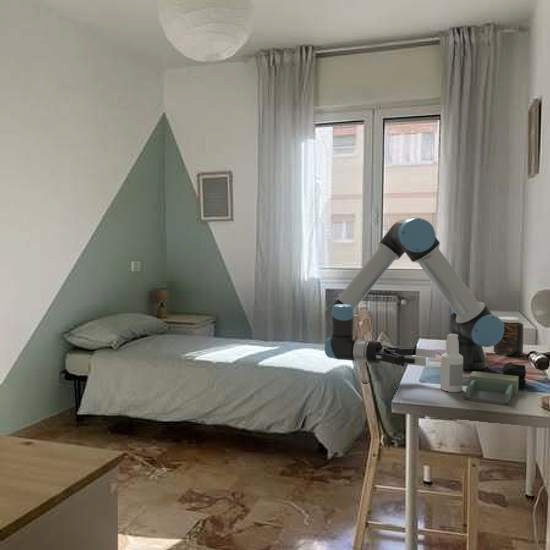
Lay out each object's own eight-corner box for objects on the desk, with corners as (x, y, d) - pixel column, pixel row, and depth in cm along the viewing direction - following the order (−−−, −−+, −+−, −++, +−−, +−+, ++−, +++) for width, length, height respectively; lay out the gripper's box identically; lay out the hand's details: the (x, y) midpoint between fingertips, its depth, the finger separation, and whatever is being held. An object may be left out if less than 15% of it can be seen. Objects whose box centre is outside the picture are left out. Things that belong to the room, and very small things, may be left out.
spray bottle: (460, 393, 172) (461, 337, 171) (438, 390, 176) (439, 335, 174) (464, 388, 178) (465, 333, 177) (443, 385, 182) (444, 332, 180)
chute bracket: (472, 384, 183) (473, 371, 183) (518, 389, 177) (518, 376, 176) (462, 399, 166) (462, 384, 166) (512, 405, 160) (512, 390, 159)
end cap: (502, 380, 189) (502, 361, 188) (524, 382, 186) (525, 362, 186) (501, 387, 180) (502, 367, 179) (525, 390, 177) (525, 369, 176)
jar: (524, 356, 227) (525, 320, 226) (494, 354, 231) (495, 319, 230) (521, 351, 238) (522, 316, 237) (492, 349, 242) (493, 315, 241)
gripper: (379, 355, 200) (438, 361, 190) (355, 369, 179) (421, 377, 168) (380, 335, 200) (439, 340, 190) (355, 347, 178) (421, 353, 168)
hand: (430, 357), depth 179 cm, fingers open, 13 cm apart
